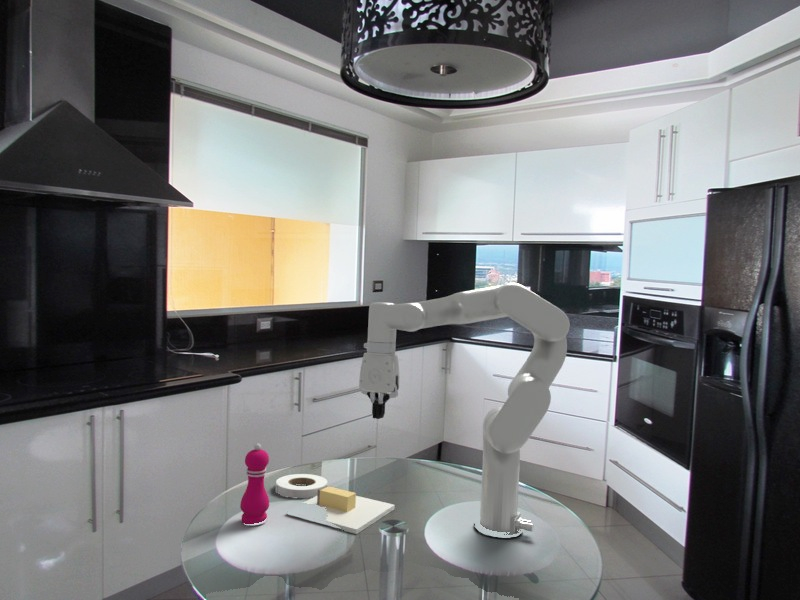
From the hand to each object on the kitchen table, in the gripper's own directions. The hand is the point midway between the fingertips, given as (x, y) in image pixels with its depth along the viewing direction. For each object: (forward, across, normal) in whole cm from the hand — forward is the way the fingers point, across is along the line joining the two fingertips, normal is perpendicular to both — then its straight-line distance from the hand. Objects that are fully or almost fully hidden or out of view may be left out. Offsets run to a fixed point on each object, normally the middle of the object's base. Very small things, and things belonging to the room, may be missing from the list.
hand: (378, 417), depth 144 cm
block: (+24, -7, 0) cm, 25 cm away
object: (+28, -30, +8) cm, 42 cm away
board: (+27, -10, 0) cm, 29 cm away
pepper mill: (+27, -25, -18) cm, 41 cm away
